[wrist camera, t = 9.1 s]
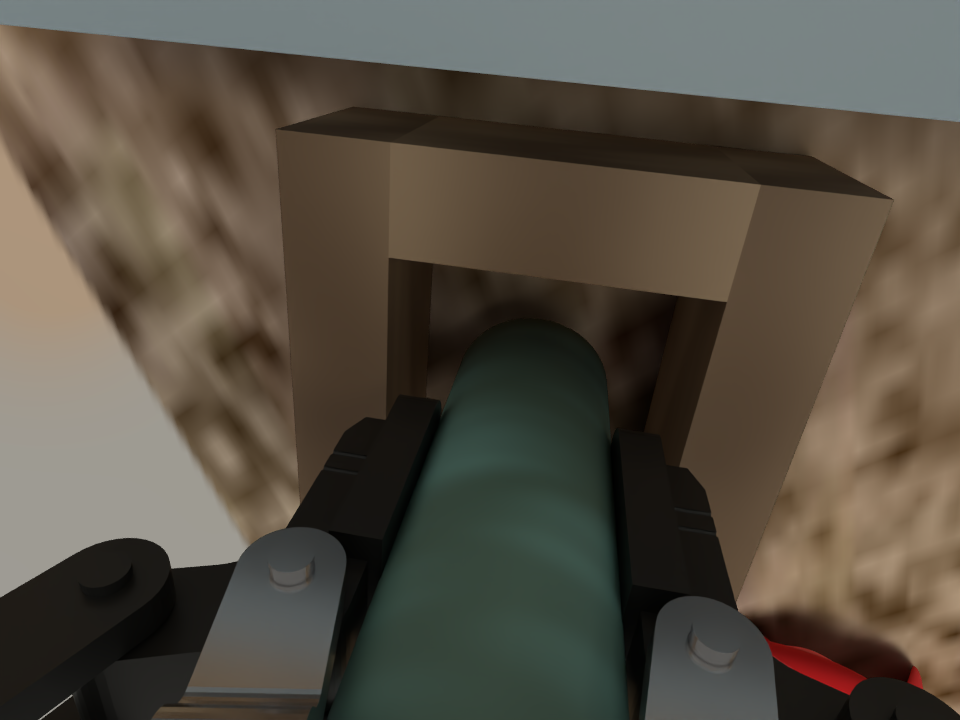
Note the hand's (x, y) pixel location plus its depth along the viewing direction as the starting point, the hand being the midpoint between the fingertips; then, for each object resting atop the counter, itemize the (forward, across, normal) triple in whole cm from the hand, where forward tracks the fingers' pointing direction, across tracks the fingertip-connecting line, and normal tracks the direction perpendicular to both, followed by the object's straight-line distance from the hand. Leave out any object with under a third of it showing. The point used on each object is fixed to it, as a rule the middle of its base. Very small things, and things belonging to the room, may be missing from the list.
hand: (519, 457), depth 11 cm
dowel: (+3, 0, 0) cm, 3 cm away
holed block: (+5, 0, 0) cm, 5 cm away
